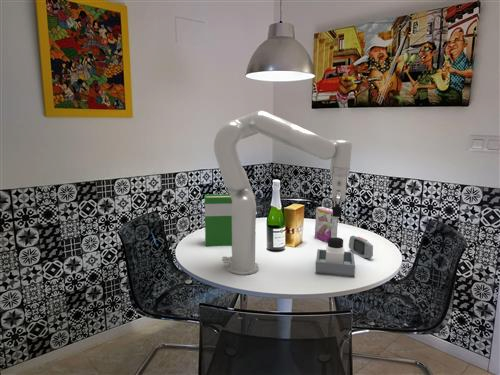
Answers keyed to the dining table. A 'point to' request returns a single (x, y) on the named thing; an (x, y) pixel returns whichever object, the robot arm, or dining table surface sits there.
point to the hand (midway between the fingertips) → (336, 213)
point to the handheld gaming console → (361, 247)
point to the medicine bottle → (335, 250)
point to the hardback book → (218, 220)
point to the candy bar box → (325, 224)
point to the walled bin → (335, 265)
